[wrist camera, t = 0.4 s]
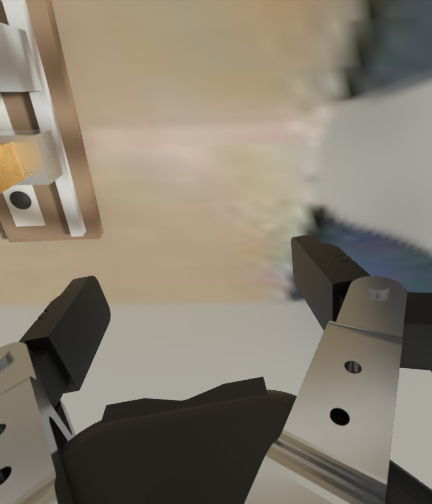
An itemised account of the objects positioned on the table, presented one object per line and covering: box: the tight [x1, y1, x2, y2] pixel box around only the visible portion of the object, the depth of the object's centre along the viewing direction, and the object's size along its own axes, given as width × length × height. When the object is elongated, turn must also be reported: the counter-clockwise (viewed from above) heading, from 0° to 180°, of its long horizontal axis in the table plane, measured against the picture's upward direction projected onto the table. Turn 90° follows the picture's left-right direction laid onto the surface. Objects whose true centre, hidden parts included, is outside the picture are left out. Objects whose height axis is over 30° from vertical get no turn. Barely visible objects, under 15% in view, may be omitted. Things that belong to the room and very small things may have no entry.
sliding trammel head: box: [0, 130, 63, 194], centre depth 23 cm, size 4×6×9 cm, turn 90°
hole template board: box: [0, 0, 103, 242], centre depth 25 cm, size 22×10×6 cm, turn 0°
